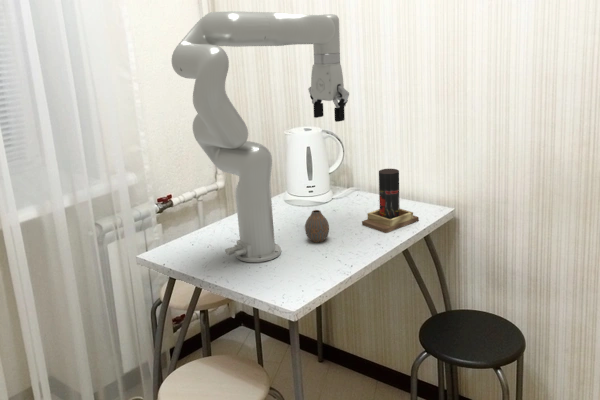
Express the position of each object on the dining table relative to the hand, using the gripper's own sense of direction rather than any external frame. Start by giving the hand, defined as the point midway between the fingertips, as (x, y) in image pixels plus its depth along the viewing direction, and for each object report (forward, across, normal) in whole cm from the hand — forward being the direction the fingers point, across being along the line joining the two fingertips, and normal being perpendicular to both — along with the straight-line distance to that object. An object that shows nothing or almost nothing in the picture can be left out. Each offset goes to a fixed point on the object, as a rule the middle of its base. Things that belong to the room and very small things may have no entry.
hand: (329, 119), depth 193 cm
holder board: (+32, +13, +12) cm, 37 cm away
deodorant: (+31, +13, +12) cm, 36 cm away
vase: (+33, +8, -12) cm, 36 cm away
